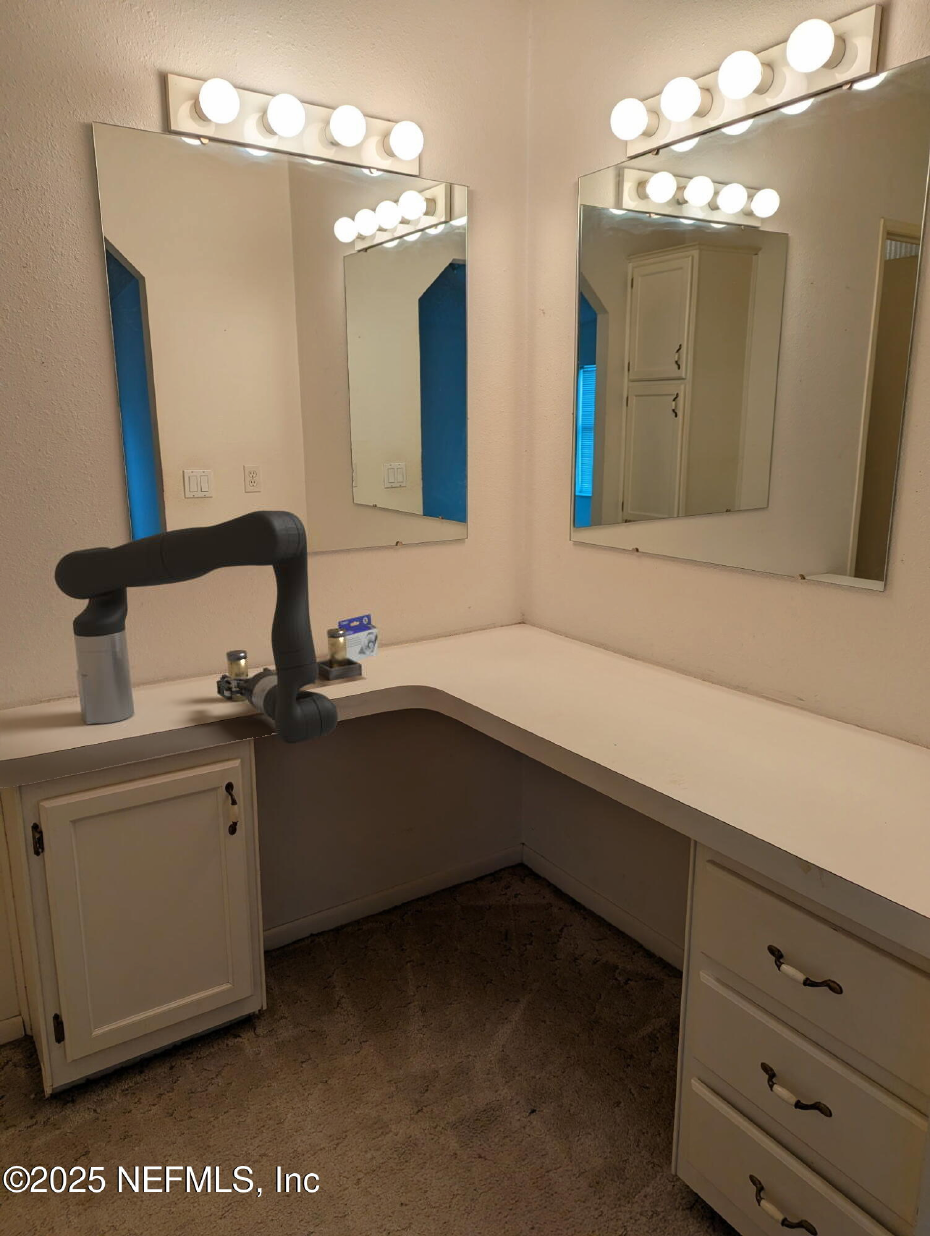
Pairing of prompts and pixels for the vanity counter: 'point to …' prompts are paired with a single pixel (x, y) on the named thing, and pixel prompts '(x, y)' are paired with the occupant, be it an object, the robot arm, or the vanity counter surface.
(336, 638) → the cylinder
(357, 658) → the ink box
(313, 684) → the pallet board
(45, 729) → the vanity counter surface
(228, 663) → the billet
